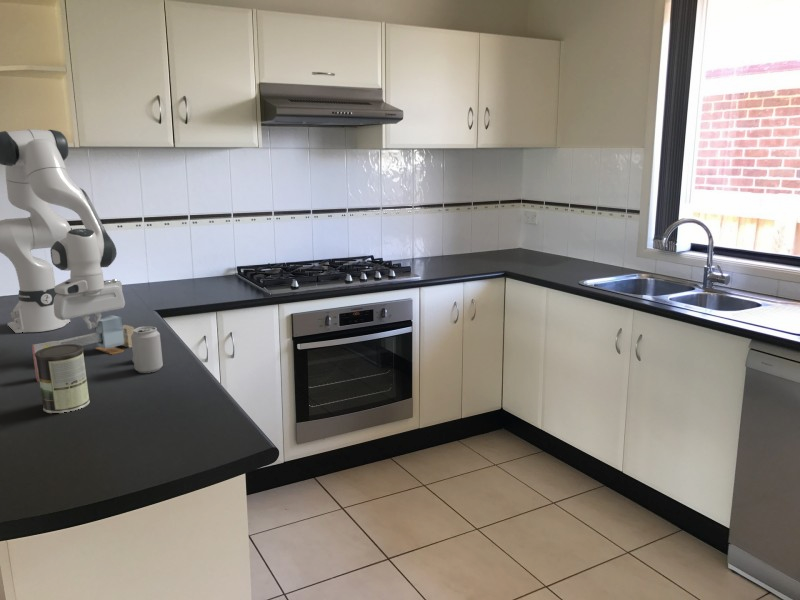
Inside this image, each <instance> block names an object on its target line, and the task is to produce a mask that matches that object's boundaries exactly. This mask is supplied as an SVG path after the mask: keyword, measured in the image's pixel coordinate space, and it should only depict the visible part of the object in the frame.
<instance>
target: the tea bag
mask: <svg viewBox="0 0 800 600" xmlns="http://www.w3.org/2000/svg"><path fill="white" fill-rule="evenodd" d="M53 341H54V342H50V341H46V342H47V343H46V342H42V343H35V344H31V349H32V350H31V351H32V357H33V358H32V359H33V364H34V365H33V366H34V372H35V373H34V374H35V378H36V382H37V383H40V381H39V374H38V367H37V361H36V357H35V353H36V352H37V351H39V350H41V349H44V348H47V347H51V346H56V345H60V340H53Z"/></svg>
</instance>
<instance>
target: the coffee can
mask: <svg viewBox="0 0 800 600" xmlns="http://www.w3.org/2000/svg"><path fill="white" fill-rule="evenodd" d="M83 346H84V345H83ZM83 346H81V345H76V344H64V345H56V346H51V347H47V348H44V349H41V350H39V351H37V352H36V353H35V357H36V361H37V367H38V374H39V381H40V382H39V386H40V393H41V401H42V410H43V412H45V413H48V414H52V413H59V414H65V413H64V412H67V413H71V412H70V411H72V412H75V410H76V411H78V409H79V410H82V409H83V408H85V407H87V406H88V405H89V404H90V402H91V401H90V396H89V387H88V386H89V385H88V380H87V372H86V371H87V370H86V364H85V357H84V347H83ZM81 408H82V409H81Z"/></svg>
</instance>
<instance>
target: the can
mask: <svg viewBox="0 0 800 600" xmlns="http://www.w3.org/2000/svg"><path fill="white" fill-rule="evenodd" d="M139 327H140V328H138V327H135V328H134V330H133V332H134V333H133V334H132V335H131V341H132V347H131V348H132V349H131V351H132V359H134V363H133V366H134V370H135V371H136V372H138V373H140V374H149V373H150V374H151V372H152V373H155V372H158V371H160V370H161V368H162V367H163V365H164V363H163V354H162V343H161V333H160V332H159V331H158V330H157V329H158V328H157V327H156V326H139Z"/></svg>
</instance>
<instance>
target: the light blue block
mask: <svg viewBox="0 0 800 600" xmlns="http://www.w3.org/2000/svg"><path fill="white" fill-rule="evenodd" d="M122 326H123V323H122V317H121V316H116V315H113V314H112V315H107V316H103V317H102V316H101V318H100V320H99V328H94V333H96V332H98V333H101V334H102V337H103V341H100V342H96V347H102V348H104V349H107V348H111V347H118V346H119V347H120V346H122V345H124V338H123V329H122Z"/></svg>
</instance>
